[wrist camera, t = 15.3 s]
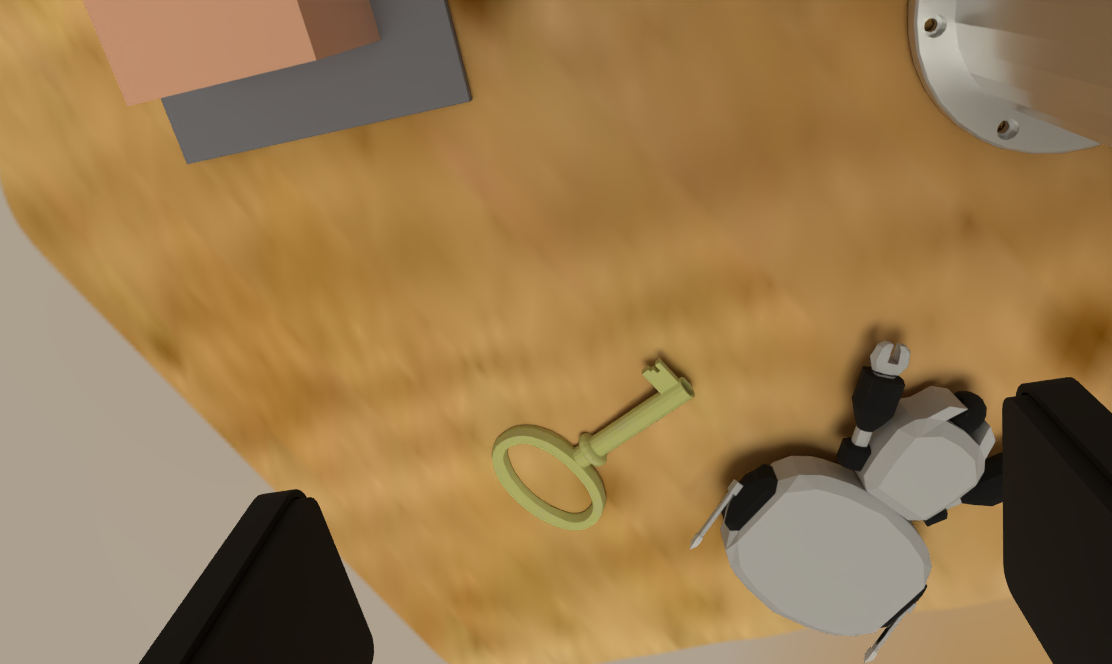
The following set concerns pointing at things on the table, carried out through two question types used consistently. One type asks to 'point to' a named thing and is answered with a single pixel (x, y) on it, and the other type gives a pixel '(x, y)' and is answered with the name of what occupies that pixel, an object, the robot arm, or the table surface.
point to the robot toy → (861, 506)
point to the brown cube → (220, 39)
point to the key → (588, 449)
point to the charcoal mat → (330, 87)
